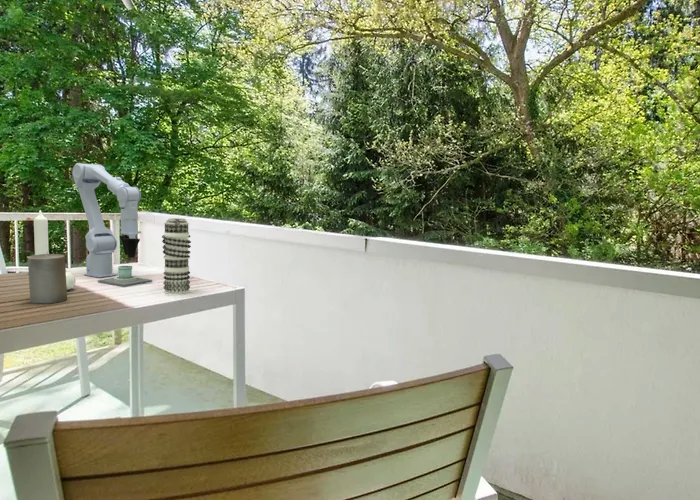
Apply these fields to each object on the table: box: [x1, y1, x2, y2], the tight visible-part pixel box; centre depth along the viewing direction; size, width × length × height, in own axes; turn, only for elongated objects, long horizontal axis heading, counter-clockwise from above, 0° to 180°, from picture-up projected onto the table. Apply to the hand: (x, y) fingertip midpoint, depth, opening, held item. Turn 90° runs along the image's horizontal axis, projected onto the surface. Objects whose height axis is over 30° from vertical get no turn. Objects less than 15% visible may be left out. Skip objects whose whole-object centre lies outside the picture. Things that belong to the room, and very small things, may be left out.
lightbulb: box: [66, 270, 77, 291], centre depth 163 cm, size 6×6×11 cm
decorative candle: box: [161, 217, 192, 295], centre depth 168 cm, size 9×9×25 cm
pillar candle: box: [26, 252, 68, 304], centre depth 150 cm, size 10×10×15 cm
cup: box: [117, 265, 133, 279], centre depth 182 cm, size 5×5×5 cm
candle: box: [33, 209, 50, 255], centre depth 189 cm, size 7×7×25 cm
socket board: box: [97, 275, 153, 288], centre depth 183 cm, size 14×12×2 cm
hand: (129, 256), depth 185 cm, fingers open, 7 cm apart
